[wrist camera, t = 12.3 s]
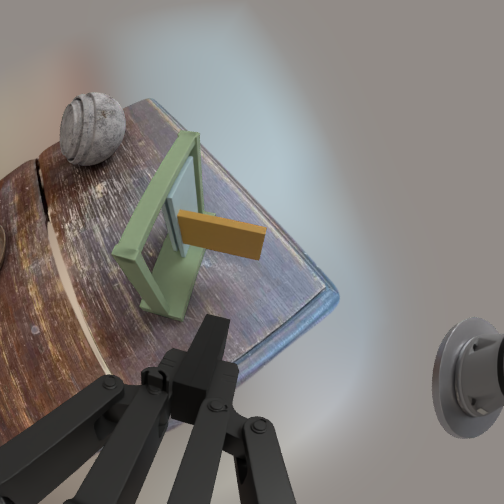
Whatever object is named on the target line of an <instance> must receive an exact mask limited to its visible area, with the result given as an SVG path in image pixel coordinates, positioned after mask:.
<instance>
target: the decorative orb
mask: <svg viewBox="0 0 504 504" xmlns="http://www.w3.org/2000/svg"><path fill="white" fill-rule="evenodd" d="M125 127H126V121H125V115H124V112H123V110H122V108H121V106H120V105H119V103H118V102H117V101H116V100H115V99H113V98H112V97H111V96H109V95H106V94H103V93H96V92H93V93H88V94H86V95H85V94H81V95H79V96H77V97H75V98H74V100H73V101H72V102H71V104H69V105H68V106H67V107H66V109H65V111H64V114H63V117H62V121H61V127H60V147H61V151H62V154H63V155H65V156H66V158H68V159H67V160H68V161H69V162H70V163H72V164H74V165H76V164H79V165H82V166H89V165H95V164H98V163H100V162H102V161H104V160H106V159H107V158H109V157H110V156H111V155H112V154H113V153H114V152H115V151H116V150H117V148H118V147H119V145H120V144H121V142H122V139H123V137H124V133H125Z"/></svg>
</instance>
